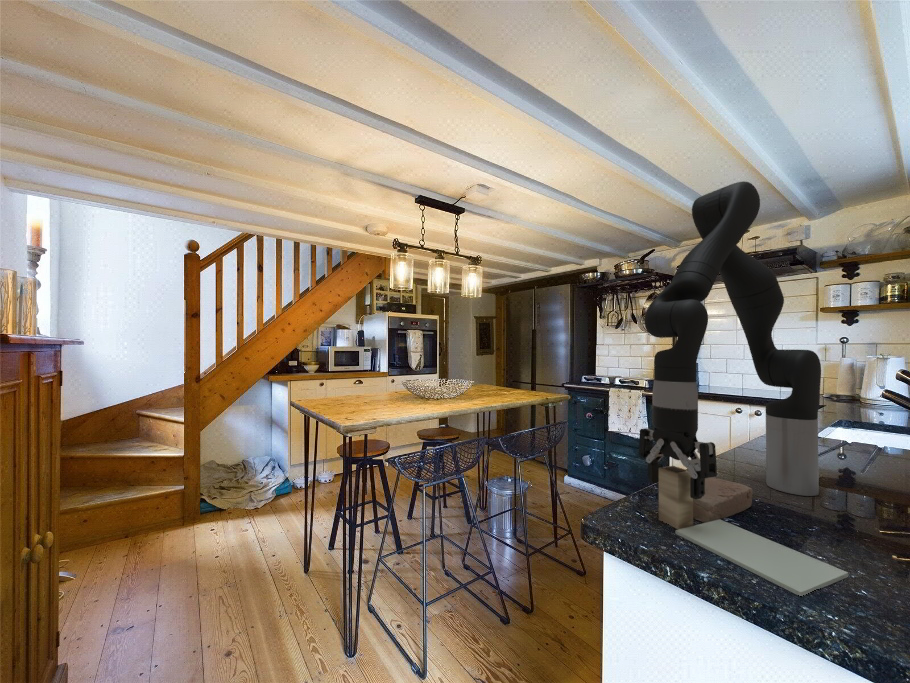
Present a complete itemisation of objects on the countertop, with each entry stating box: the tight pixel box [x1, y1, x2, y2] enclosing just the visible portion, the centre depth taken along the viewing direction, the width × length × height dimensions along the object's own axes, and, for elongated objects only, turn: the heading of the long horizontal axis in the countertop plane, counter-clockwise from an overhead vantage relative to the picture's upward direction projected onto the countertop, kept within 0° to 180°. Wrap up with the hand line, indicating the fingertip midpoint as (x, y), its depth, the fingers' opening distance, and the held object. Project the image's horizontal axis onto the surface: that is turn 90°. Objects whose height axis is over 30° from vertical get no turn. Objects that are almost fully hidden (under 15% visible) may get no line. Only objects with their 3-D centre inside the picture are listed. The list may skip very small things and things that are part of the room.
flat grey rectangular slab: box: [675, 519, 849, 597], centre depth 60 cm, size 12×18×1 cm, turn 22°
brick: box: [693, 477, 754, 523], centre depth 77 cm, size 17×8×5 cm, turn 118°
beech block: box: [658, 465, 694, 530], centre depth 70 cm, size 4×4×10 cm
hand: (674, 489), depth 70 cm, fingers open, 8 cm apart
